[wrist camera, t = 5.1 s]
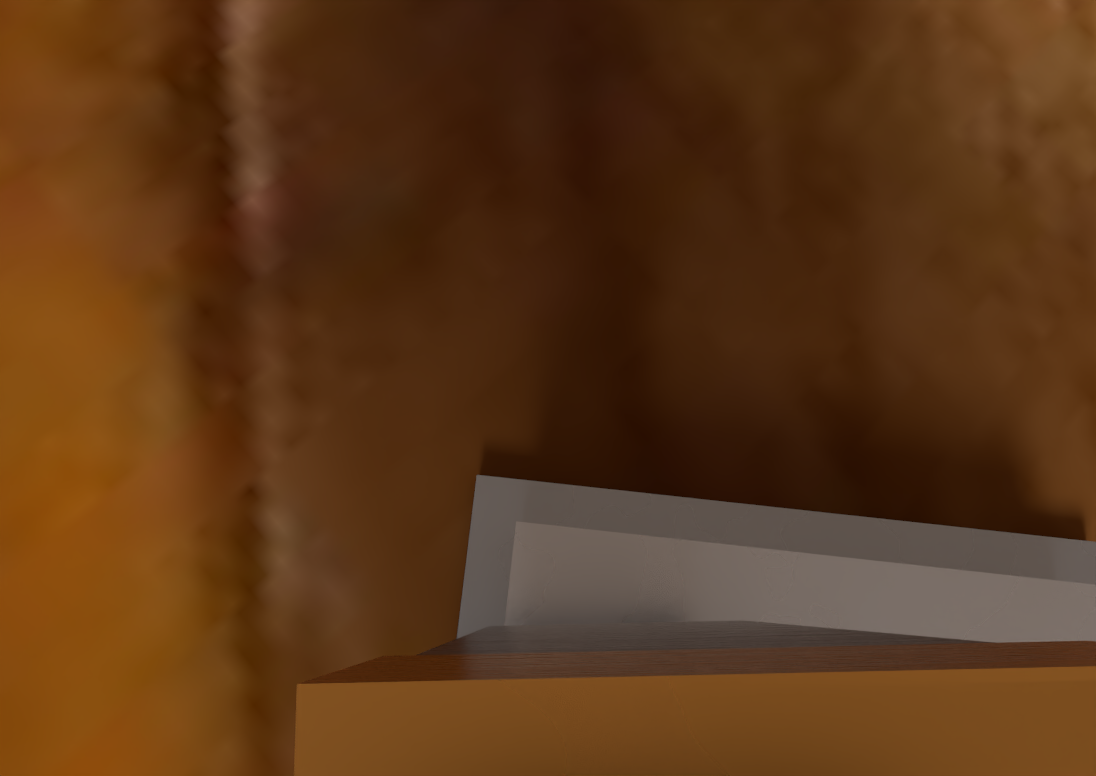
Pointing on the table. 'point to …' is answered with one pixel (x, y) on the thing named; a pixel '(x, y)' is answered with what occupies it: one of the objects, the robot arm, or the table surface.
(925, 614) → the grey socket base
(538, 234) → the table surface
